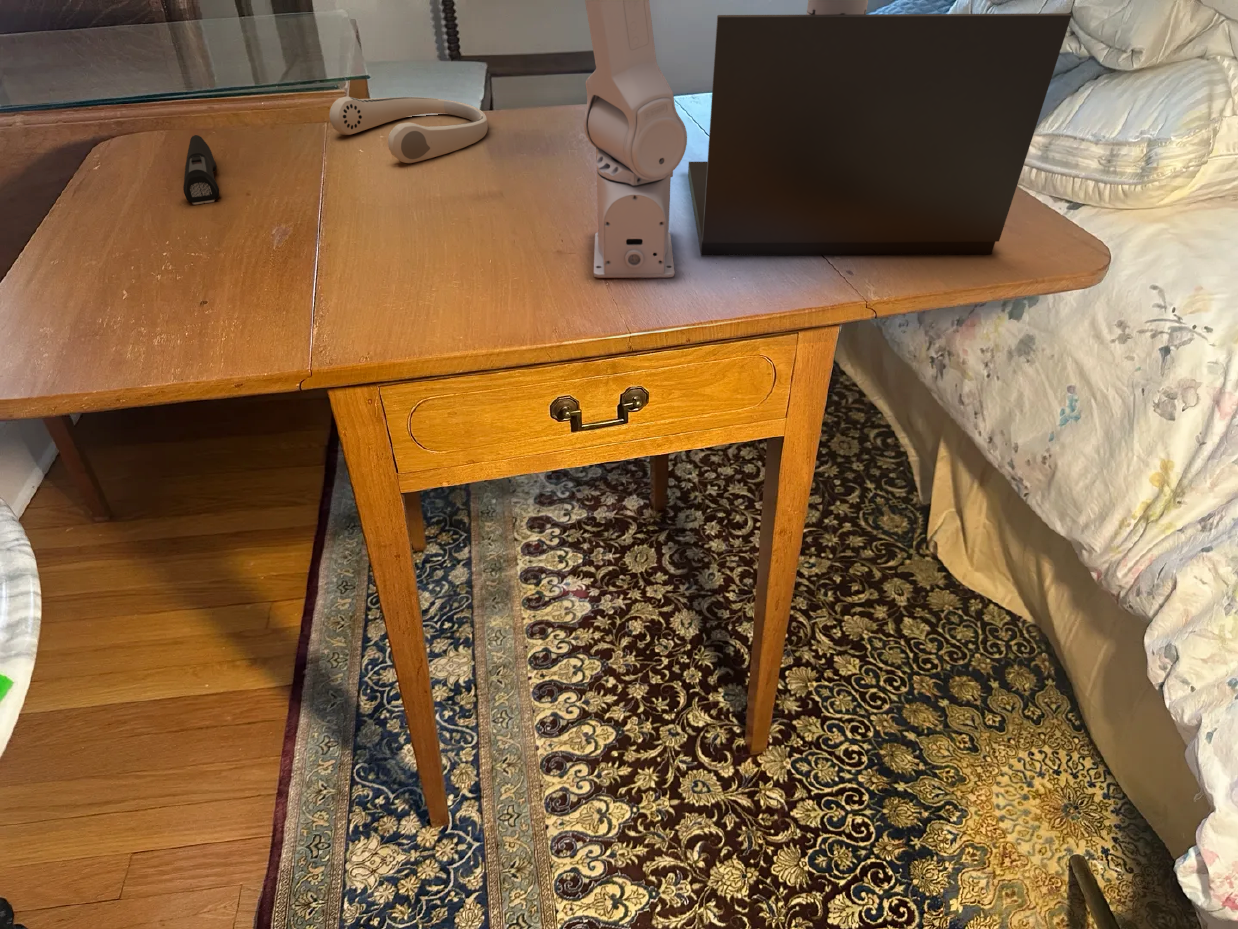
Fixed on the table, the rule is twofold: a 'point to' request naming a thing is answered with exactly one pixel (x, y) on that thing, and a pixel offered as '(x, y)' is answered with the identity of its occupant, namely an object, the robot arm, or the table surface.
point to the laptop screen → (873, 124)
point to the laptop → (698, 189)
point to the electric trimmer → (200, 173)
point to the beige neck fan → (410, 124)
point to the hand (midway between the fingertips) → (816, 150)
